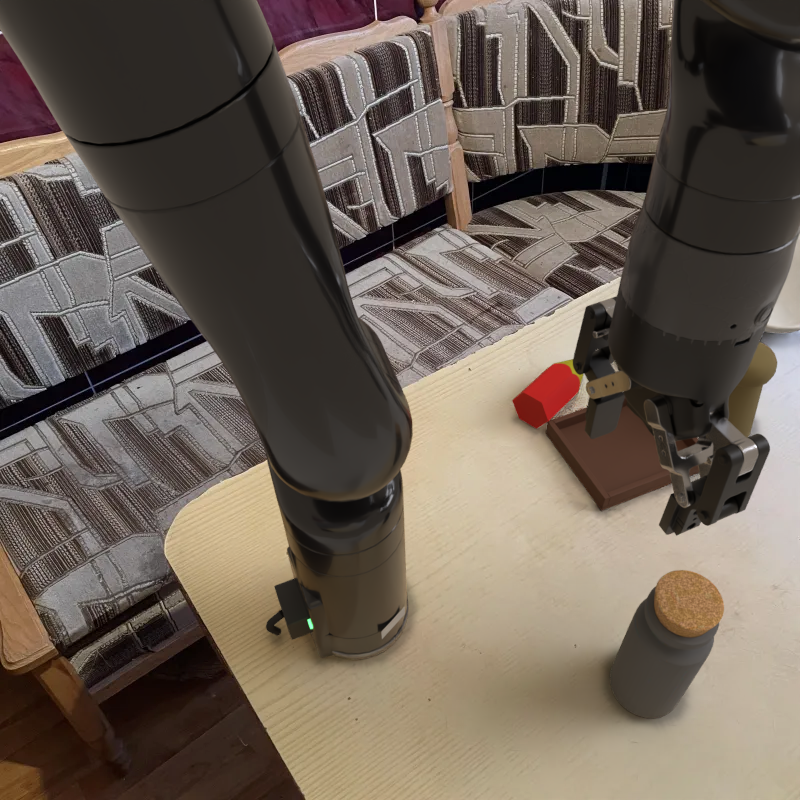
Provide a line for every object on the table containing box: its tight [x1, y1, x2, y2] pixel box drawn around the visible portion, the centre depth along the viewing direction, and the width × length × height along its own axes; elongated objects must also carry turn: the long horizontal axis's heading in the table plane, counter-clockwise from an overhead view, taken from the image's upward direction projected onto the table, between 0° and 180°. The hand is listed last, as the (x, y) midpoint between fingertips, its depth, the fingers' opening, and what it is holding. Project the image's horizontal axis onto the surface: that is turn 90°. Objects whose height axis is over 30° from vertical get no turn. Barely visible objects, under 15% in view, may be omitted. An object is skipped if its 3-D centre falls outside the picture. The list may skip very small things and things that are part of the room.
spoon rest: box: [764, 234, 800, 334], centre depth 96 cm, size 24×12×7 cm, turn 155°
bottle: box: [609, 569, 725, 719], centre depth 59 cm, size 6×6×15 cm
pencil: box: [511, 358, 584, 430], centre depth 85 cm, size 5×12×4 cm, turn 138°
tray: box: [544, 398, 699, 512], centre depth 80 cm, size 13×11×2 cm
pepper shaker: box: [728, 341, 778, 437], centre depth 80 cm, size 6×6×11 cm
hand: (635, 477), depth 50 cm, fingers open, 8 cm apart
